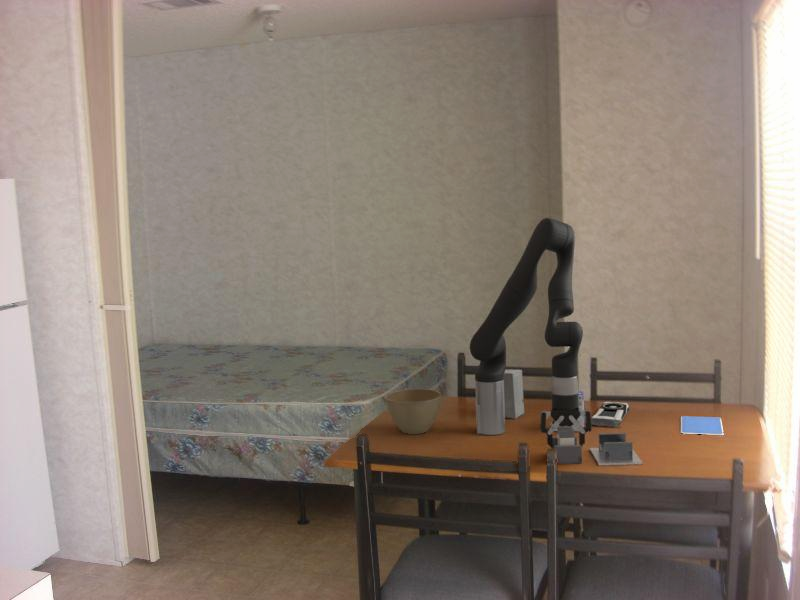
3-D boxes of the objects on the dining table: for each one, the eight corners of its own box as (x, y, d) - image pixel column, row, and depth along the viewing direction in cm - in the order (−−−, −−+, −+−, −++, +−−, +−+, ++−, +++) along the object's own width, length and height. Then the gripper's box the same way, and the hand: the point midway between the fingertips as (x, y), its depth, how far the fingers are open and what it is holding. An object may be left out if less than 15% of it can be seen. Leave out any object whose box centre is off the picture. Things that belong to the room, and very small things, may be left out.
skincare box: (515, 419, 276) (514, 374, 274) (496, 417, 280) (495, 372, 278) (525, 413, 283) (524, 369, 281) (506, 411, 287) (505, 367, 285)
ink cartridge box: (584, 427, 264) (583, 383, 262) (584, 432, 258) (583, 387, 256) (553, 426, 266) (552, 383, 264) (552, 431, 260) (551, 387, 258)
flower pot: (405, 421, 280) (403, 386, 279) (451, 426, 271) (450, 391, 269) (377, 435, 265) (375, 399, 263) (425, 441, 256) (423, 404, 254)
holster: (555, 463, 229) (555, 446, 228) (551, 453, 238) (550, 436, 238) (581, 463, 229) (581, 446, 228) (576, 452, 238) (576, 436, 237)
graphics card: (589, 418, 264) (603, 399, 286) (589, 428, 264) (603, 408, 287) (620, 420, 260) (632, 401, 282) (620, 430, 260) (632, 410, 283)
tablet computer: (724, 438, 247) (724, 434, 247) (680, 436, 251) (680, 432, 251) (721, 421, 265) (721, 417, 265) (680, 419, 270) (680, 415, 269)
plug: (560, 461, 231) (560, 431, 229) (557, 455, 237) (557, 425, 235) (574, 461, 230) (574, 430, 229) (571, 454, 236) (571, 425, 235)
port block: (598, 465, 226) (598, 446, 225) (589, 450, 240) (589, 431, 239) (642, 464, 225) (642, 444, 225) (631, 448, 239) (630, 430, 238)
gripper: (541, 394, 228) (542, 450, 230) (592, 393, 227) (593, 449, 229) (538, 388, 235) (539, 442, 237) (587, 387, 234) (588, 441, 236)
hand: (566, 446), depth 233 cm, fingers open, 8 cm apart
